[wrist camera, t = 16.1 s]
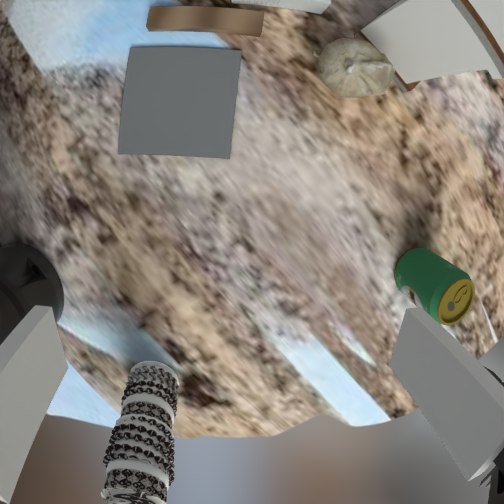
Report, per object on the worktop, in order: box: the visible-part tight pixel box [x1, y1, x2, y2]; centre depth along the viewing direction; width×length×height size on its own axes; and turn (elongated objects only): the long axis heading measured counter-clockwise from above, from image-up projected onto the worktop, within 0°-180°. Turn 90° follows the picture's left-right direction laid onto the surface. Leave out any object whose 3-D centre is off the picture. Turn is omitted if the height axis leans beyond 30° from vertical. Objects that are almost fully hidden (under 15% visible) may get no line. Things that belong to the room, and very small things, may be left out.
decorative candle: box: [101, 361, 179, 504], centre depth 36 cm, size 9×9×25 cm
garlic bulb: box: [313, 37, 396, 98], centre depth 30 cm, size 10×8×10 cm
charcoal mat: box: [118, 47, 242, 159], centre depth 34 cm, size 14×14×1 cm
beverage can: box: [395, 248, 475, 325], centre depth 40 cm, size 8×8×12 cm
